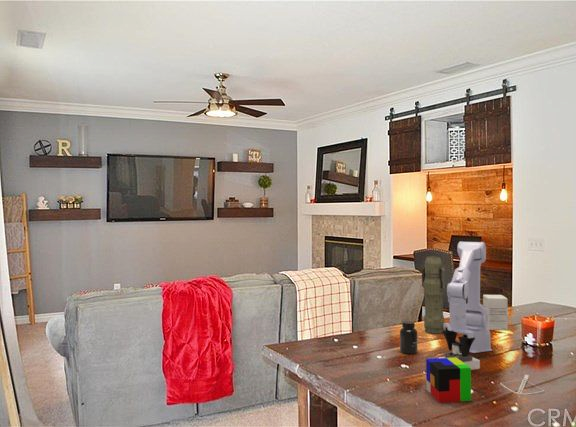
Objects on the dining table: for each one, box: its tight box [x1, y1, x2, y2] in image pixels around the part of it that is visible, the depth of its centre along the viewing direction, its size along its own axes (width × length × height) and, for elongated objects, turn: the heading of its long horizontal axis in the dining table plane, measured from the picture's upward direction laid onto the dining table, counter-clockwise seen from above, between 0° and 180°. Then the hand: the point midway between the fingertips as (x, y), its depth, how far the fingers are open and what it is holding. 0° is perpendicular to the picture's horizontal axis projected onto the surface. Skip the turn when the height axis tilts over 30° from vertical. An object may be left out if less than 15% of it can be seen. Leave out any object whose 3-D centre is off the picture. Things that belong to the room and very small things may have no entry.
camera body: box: [437, 351, 481, 371], centre depth 173 cm, size 12×8×4 cm, turn 107°
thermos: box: [421, 255, 447, 335], centre depth 221 cm, size 9×12×35 cm
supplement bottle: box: [399, 320, 418, 355], centre depth 192 cm, size 7×7×12 cm
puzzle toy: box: [425, 357, 472, 403], centre depth 148 cm, size 10×10×10 cm
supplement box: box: [482, 294, 509, 331], centre depth 226 cm, size 9×9×15 cm
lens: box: [451, 340, 464, 358], centre depth 173 cm, size 4×4×6 cm
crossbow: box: [499, 374, 545, 396], centre depth 154 cm, size 16×13×2 cm
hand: (458, 352), depth 173 cm, fingers open, 7 cm apart
